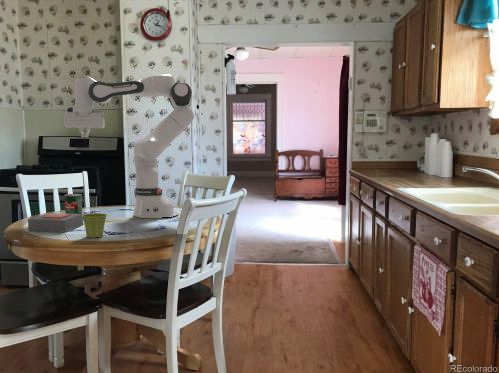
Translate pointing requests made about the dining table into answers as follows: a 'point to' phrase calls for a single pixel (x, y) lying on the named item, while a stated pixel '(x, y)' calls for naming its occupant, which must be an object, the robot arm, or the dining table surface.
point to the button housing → (55, 223)
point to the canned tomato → (73, 203)
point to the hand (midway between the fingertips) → (84, 137)
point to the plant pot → (94, 224)
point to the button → (56, 216)
